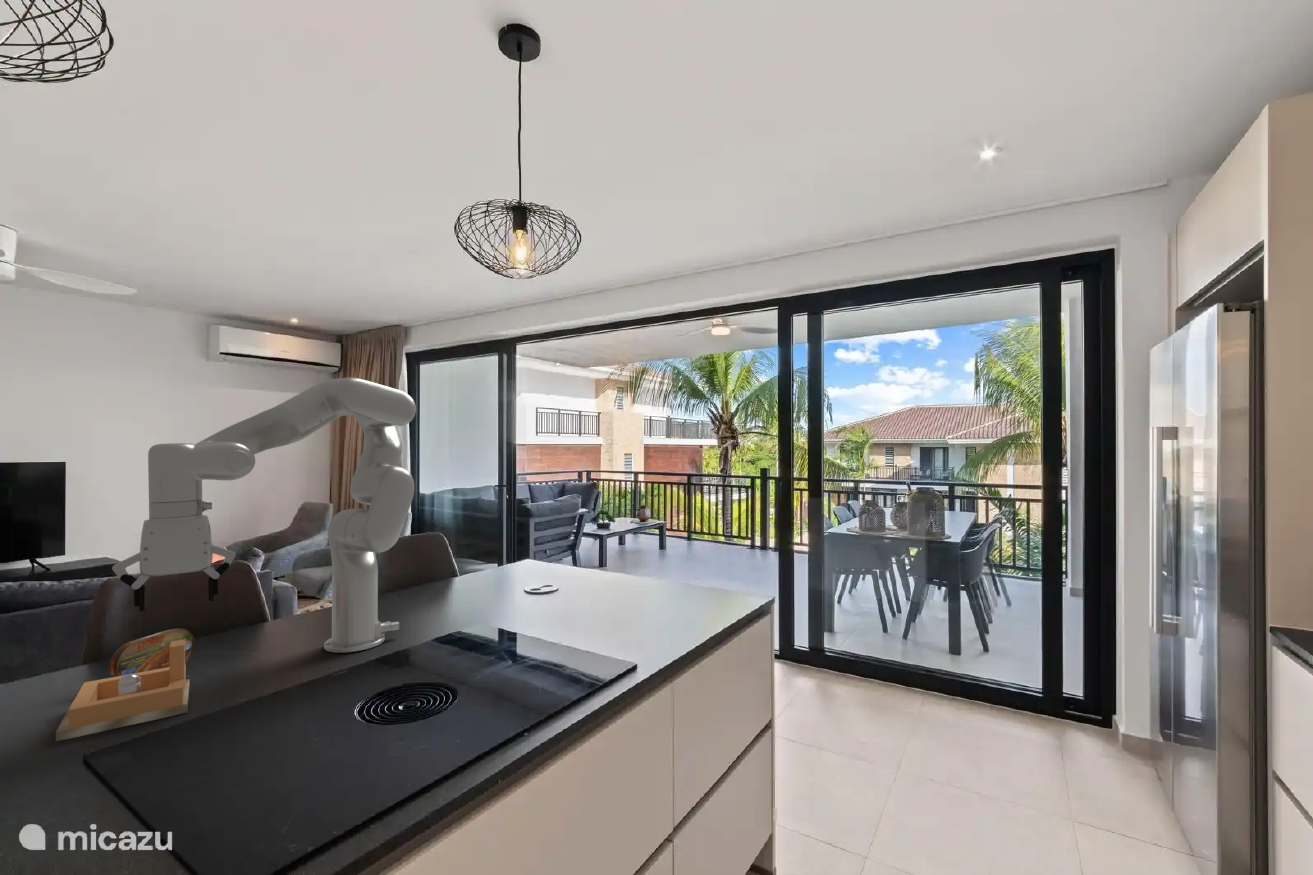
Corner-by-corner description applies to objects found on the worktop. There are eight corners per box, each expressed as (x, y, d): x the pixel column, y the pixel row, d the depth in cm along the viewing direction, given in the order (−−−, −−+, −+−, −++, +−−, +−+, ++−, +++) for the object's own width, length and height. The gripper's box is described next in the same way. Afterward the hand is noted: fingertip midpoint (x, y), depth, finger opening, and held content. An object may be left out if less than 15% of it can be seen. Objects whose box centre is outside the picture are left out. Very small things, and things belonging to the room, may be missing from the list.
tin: (118, 692, 110) (118, 647, 110) (105, 690, 110) (105, 646, 110) (196, 663, 124) (196, 623, 124) (184, 662, 125) (184, 623, 125)
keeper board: (189, 686, 111) (189, 679, 111) (187, 712, 100) (187, 703, 100) (72, 710, 102) (72, 701, 102) (55, 741, 91) (55, 732, 91)
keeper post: (141, 697, 103) (142, 669, 103) (140, 703, 101) (140, 674, 101) (119, 702, 101) (119, 673, 101) (116, 708, 99) (117, 678, 99)
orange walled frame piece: (185, 679, 111) (186, 632, 111) (182, 704, 100) (183, 652, 100) (84, 699, 103) (84, 648, 103) (68, 729, 91) (69, 672, 92)
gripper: (234, 505, 114) (235, 592, 114) (114, 513, 103) (116, 609, 103) (235, 508, 108) (237, 600, 108) (108, 517, 97) (110, 619, 97)
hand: (177, 604), depth 105 cm, fingers open, 9 cm apart
